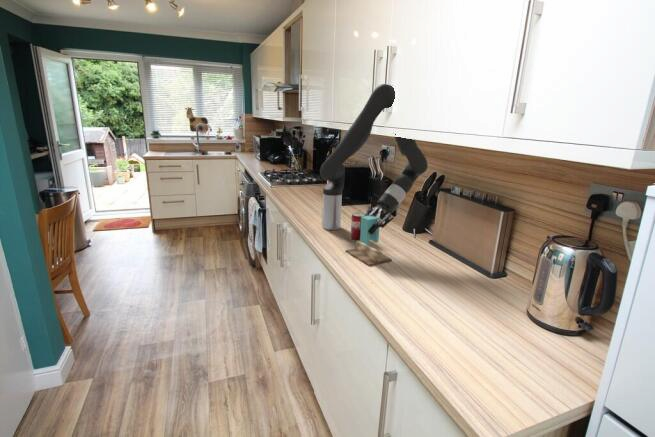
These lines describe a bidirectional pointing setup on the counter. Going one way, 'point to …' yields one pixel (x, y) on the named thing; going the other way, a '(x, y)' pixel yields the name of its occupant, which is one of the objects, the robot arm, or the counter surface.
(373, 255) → the rail board
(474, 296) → the counter surface
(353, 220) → the soda can
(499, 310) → the counter surface
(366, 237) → the notched post
